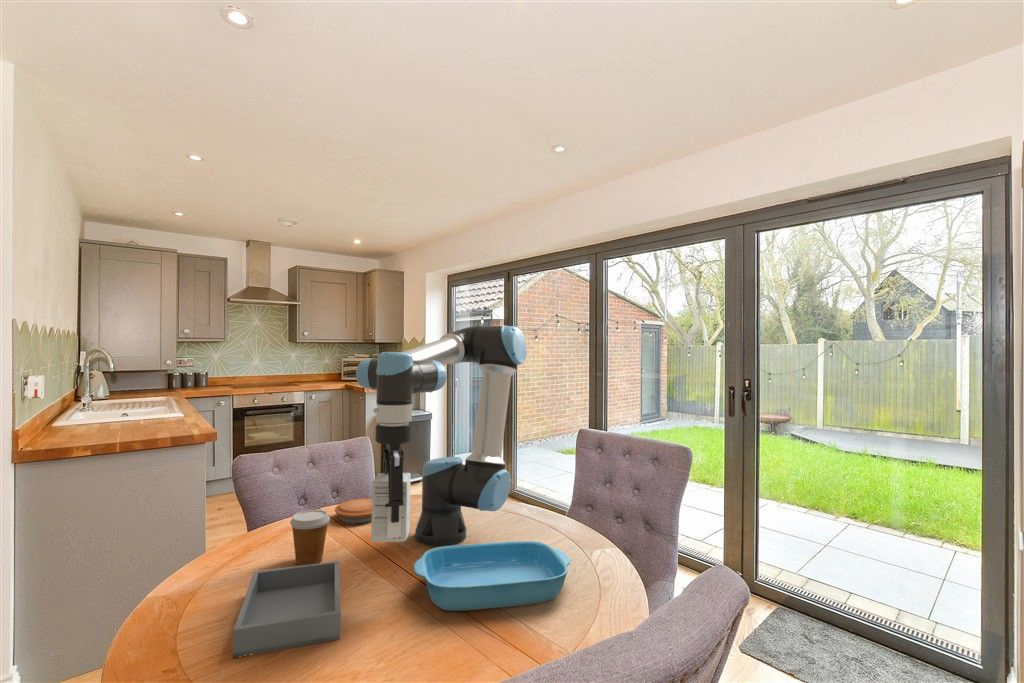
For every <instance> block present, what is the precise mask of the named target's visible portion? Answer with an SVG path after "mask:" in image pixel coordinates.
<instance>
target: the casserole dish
mask: <svg viewBox="0 0 1024 683" xmlns="http://www.w3.org/2000/svg"><path fill="white" fill-rule="evenodd" d="M570 563H571V559H570V558H569V556H568V554H566V553H565V552H564V551H562V550H561V549H557V548H554V547H552V546H550V545H549V544H548V543H545V542H540V541H533V540H519V541H518V540H517V541H516V540H513V541H498V542H484V543H466V544H454V545H449V546H436V547H433V548H431V549H427V551H425V552H424V553H423V554H422V556H421V557H420V558H419V559H417V560H416V561H415V563H414V564H413V571H414V574H415V575H416V576H417V577H419V578H422V579H424V580H425V584H426V588H427V592H428V595H429V598H430V600H431V601H432V603H433V604H434V605H435V606H437V607H438V608H440V609H442V610H444V611H451V612H455V611H456V612H458V611H461V612H462V611H463V612H464V611H475V610H486V609H496V608H497V609H498V608H509V607H517V606H526V605H534V604H539V603H546V602H550V601H552V600H553V599H555V598H556V597H557V596H558V595H559V594H560V592H561V591H562V589H563V586H564V583H565V580H566V576H567V574H568V570H569V569H568V566H569V565H570Z"/></svg>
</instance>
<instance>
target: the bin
mask: <svg viewBox="0 0 1024 683" xmlns="http://www.w3.org/2000/svg"><path fill="white" fill-rule="evenodd" d="M340 582H341V580H340V560H335V561H326V562H320V563H317V564H309V565H301V566H298V565H294V566H286V567H285V566H284V567H279V568H271V569H263V570H262V569H261V570H255V571H253V573H252V576H251V579H250V582H249V585H248V587H247V591H246V592H245V593H246V594H245V597H244V599H243V601H242V605H241V607H240V610H239V614H238V617H237V618H236V622H235V625H234V627H233V632H232V634H233V635H232V636H233V638H232V659H235V658H234V657H238V658H240V657H239V656H244V655H249V656H251V655H250V654H255V655H259V654H258V653H261V654H266V653H271V652H277V651H282V650H288V649H292V648H293V649H294V648H299V647H304V646H309V645H316V644H320V643H321V644H323V643H326V642H331V641H337V640H341V614H342V611H341V586H340V585H341V583H340ZM265 652H266V653H265ZM244 657H245V656H244Z"/></svg>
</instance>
